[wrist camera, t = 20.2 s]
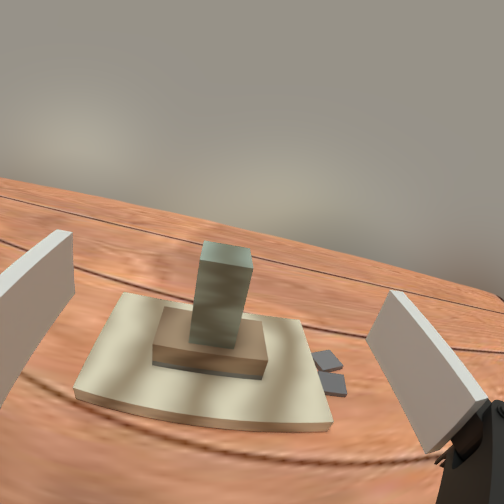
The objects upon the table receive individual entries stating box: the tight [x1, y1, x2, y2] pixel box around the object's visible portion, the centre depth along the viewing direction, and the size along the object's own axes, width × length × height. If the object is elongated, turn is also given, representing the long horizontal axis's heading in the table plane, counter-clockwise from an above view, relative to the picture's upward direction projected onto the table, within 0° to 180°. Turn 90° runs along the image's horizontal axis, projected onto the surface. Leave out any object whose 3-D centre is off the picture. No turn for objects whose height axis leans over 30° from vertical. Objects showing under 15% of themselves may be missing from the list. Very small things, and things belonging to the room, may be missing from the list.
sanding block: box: [152, 241, 268, 380], centre depth 26 cm, size 10×6×11 cm, turn 94°
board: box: [73, 292, 334, 432], centre depth 28 cm, size 22×16×2 cm
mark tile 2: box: [311, 350, 343, 372], centre depth 32 cm, size 3×3×1 cm
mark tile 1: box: [318, 371, 347, 397], centre depth 28 cm, size 3×3×1 cm
